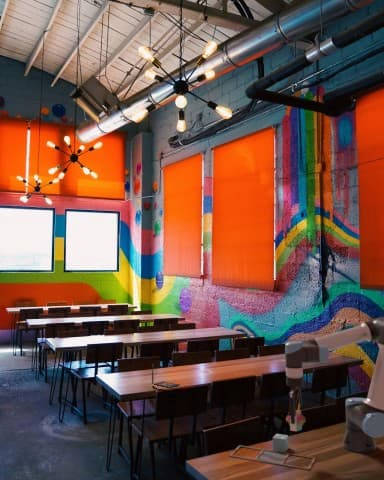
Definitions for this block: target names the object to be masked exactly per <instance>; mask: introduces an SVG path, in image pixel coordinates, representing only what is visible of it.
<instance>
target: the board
mask: <svg viewBox="0 0 384 480" xmlns="http://www.w3.org/2000/svg"><path fill="white" fill-rule="evenodd" d="M240 448H243V449H245V448H246V449H252V450H257V451H260V452H259V453H258V454H257V456H255V458H251V457H245V456H238V455H235V453H237V451H238V450H240ZM289 456H293V457H300V458H305V459H311V462H309V465H308V467H303V466H297V465H291V464H286V461H287V459H288V458H289ZM228 457H231V458H236V459H242V460H248V461H254V462H260V463H265V464H269V465H275V466H282V467H285V468H286V467H287V468H293V469H299V470H305V471H311V469H312V467H313V465H314V464H315V461H316V460H317V457H314V456H308V455H301V454H295V453H289V452H280V451H274V450H273V449H272V450H271V449H266V448H265V449H264V448H259V447H253V446H247V445H242V444H241V445H238V446H237V447H236V448H235V449H234V450H233V451H232V452H231V453H230V454H229V456H228Z"/></svg>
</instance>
